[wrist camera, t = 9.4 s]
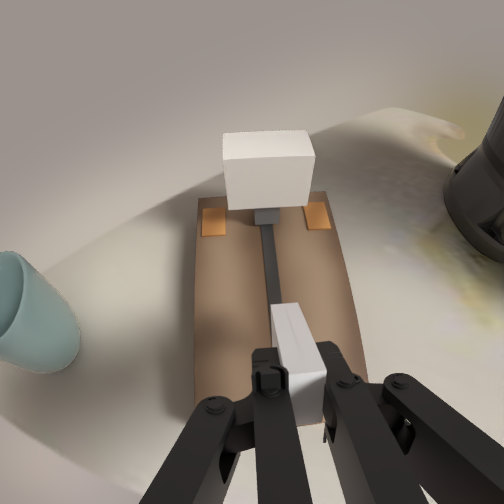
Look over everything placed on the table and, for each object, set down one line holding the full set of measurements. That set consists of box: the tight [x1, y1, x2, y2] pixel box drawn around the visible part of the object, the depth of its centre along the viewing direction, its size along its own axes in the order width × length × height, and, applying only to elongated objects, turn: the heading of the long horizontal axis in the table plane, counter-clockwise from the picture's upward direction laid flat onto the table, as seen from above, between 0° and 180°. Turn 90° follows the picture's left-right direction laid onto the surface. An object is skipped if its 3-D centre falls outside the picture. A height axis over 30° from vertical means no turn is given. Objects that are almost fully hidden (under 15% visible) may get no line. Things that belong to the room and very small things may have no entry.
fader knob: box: [223, 130, 316, 225], centre depth 23 cm, size 6×3×8 cm, turn 94°
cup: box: [0, 251, 80, 374], centre depth 19 cm, size 8×8×10 cm
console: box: [194, 191, 369, 426], centre depth 24 cm, size 12×20×3 cm, turn 4°
